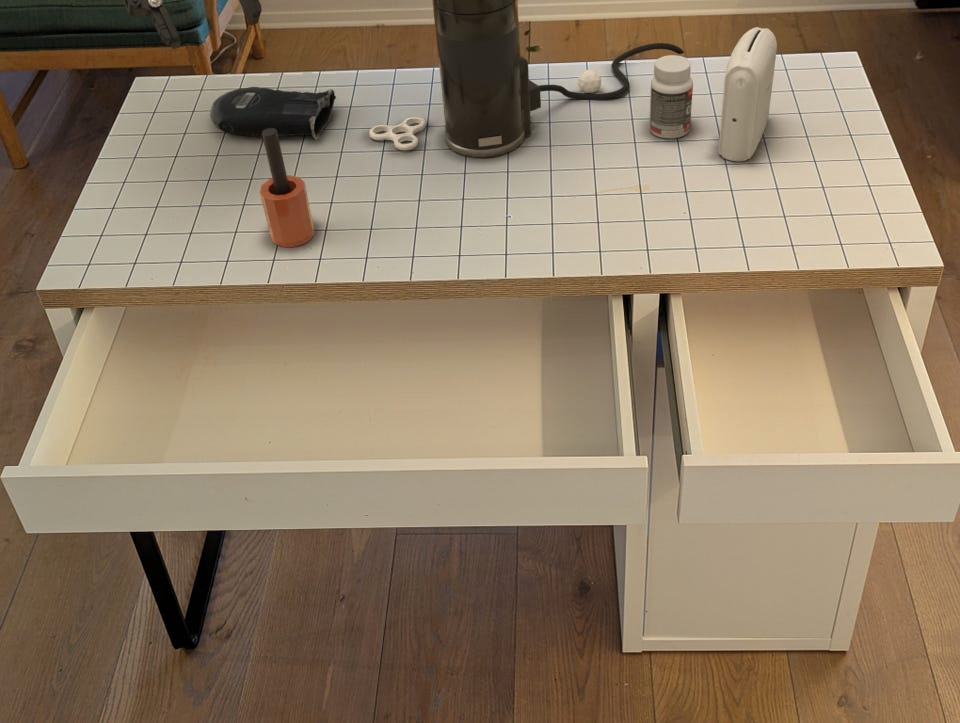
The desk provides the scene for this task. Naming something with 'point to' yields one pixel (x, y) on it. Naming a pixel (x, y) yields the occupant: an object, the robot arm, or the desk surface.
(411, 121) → the fidget spinner
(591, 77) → the polyhedron
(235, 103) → the electronic device
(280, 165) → the dark grey rod
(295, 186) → the pen holder
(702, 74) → the desk surface
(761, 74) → the photo printer
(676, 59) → the pill bottle
